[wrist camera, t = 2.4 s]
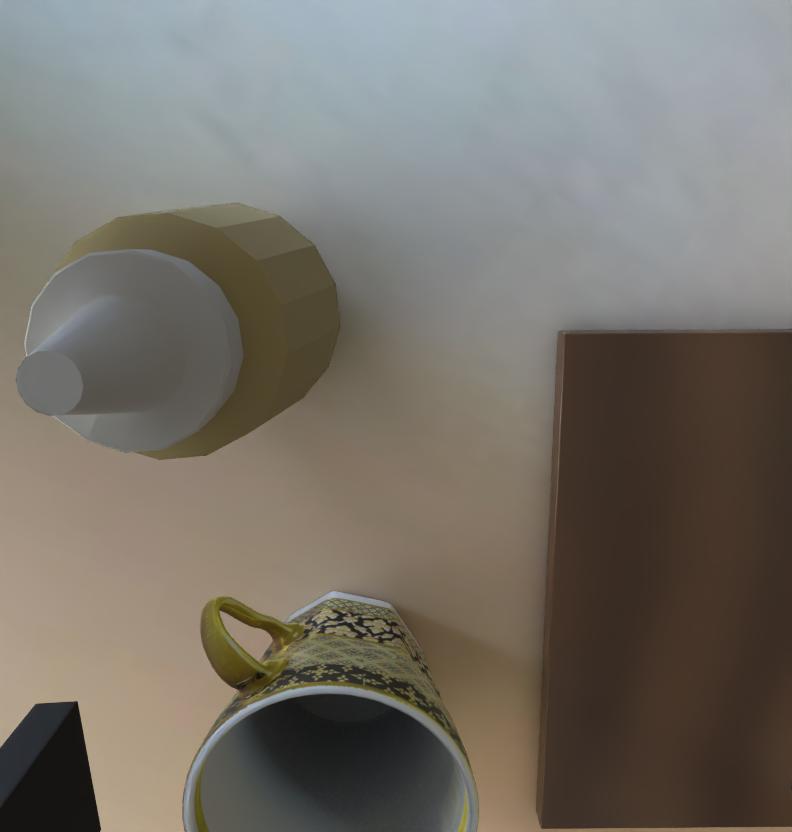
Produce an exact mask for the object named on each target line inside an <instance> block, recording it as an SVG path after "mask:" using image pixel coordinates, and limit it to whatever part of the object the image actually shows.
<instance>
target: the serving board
mask: <svg viewBox="0 0 792 832" xmlns="http://www.w3.org/2000/svg"><path fill="white" fill-rule="evenodd" d="M791 784H792V329H756V330H569V331H558V341H557V363H556V385H555V407H554V429H553V451H552V473H551V495H550V517H549V539H548V561H547V583H546V605H545V627H544V649H543V671H542V693H541V715H540V737H539V759H538V781H537V803H536V812H537V816H538V819H539V823H540V827H541V828H542V829H572V828H695V827H792V790H791Z"/></svg>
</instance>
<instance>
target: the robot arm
mask: <svg viewBox="0 0 792 832" xmlns="http://www.w3.org/2000/svg"><path fill="white" fill-rule="evenodd" d="M791 790H792V784H791ZM100 830H101V827H100V822H99V816H98V811H97V805H96V800H95V794H94V789H93V783H92V778H91V772H90V767H89V762H88V756H87V751H86V745H85V740H84V734H83V729H82V723H81V718H80V713H79V707H78V702H77V701H75V702H59V703H42V704H35V706H34V707H33V708H32V709H31V711H30V712H29V713H28V714H27V716H26V717H25V718H24V719H23V720H22V722H21V723H20V724H19V725H18V727H17V728H16V729H15V730H14V732H13V733H12V734H11V735H10V737H9V738H8V739H7V740H6V741H5V743H4V744H3V745H2V746H1V748H0V832H100Z"/></svg>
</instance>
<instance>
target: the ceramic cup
mask: <svg viewBox="0 0 792 832" xmlns="http://www.w3.org/2000/svg"><path fill="white" fill-rule="evenodd" d="M219 610H220V611H223V612H225V613H227V614H229V615H230V616H232V617H234V618H236V619H237V620H239V621H241V622H243V623H245V624H247V625H249V626H251V627H254V628H260V629H263V630H265V631H266V632H268V633H269V634H270V635H271V637H272V639H273V642H272V644H271V645H270V646H269V648H268V649H267V651H266V652H265V653H264V655H263V656H262V658H261V659H260V660H259V662H258V661H257V660H256V659H254V658H253V657H252V656H251V655H249V654H248V653H247V652H246V651H245V650H244V649H243V648H242V647H241V646H240V645H239V644H238V643H237V642H236V641H235V640H234V639H233V638H232V637H231V636H230V634H229V633H228V632H227V630H226V629H225V627H224V624H223V622H222V619H221V617H220V612H219ZM201 638H202V643H203V647H204V650H205V652H206V655H207V657H208V659H209V661H210V663H211V665H212V667H213V669H214V670H215V672H216V673H217V674H218V675H219V676H220V678H221V679H222V680H223V681H224V682H226V683H227V684H228V685H229V686H231V687H233V688H235V689H237V690H238V691H237V693H236V694H235V696H234V697H233V699H232V700H231V701H230V702H229V704H228V705H227V706H226V708H225V709H224V710H223V712H222V713H221V714H220V716H219V717H218V719H217V720H216V722H215V723H214V725H213V727H212V728H211V730H210V731H209V733H208V735H207V737H206V738H205V740H204V742H203V743H202V745H201V747H200V749H199V750H198V752H197V754H196V756H195V758H194V760H193V762H192V764H191V767H190V769H189V772H188V775H187V779H186V783H185V788H184V793H183V824H184V830H185V832H477V828H478V820H479V803H478V794H477V789H476V784H475V780H474V777H473V773H472V770H471V766H470V763H469V760H468V757H467V754H466V751H465V748H464V746H463V744H462V741H461V739H460V736H459V734H458V732H457V729H456V727H455V724H454V722H453V720H452V718H451V716H450V714H449V712H448V711H447V709H446V708H445V706H444V704H443V702H442V699H441V696H440V694H439V692H438V689H437V687H436V684H435V682H434V679H433V677H432V675H431V672H430V670H429V667H428V664H427V662H426V659H425V656H424V655H423V652H422V650H421V648H420V645H419V644H418V642H417V641H416V640H415V638H414V637H413V635H412V634H411V632H410V631H409V629H408V628H407V626H406V625H405V623H404V622H403V621H402V619H401V618H400V616H399V615H398V613H397V612H396V610H395V609H394V608H393V606H392V605H391V604H390V603H388V602H384V601H380V600H375V599H370V598H366V597H361V596H356V595H351V594H347V593H342V592H336V591H332V592H330V593H328V594H326V595H324V596H323V597H321V598H319V599H318V600H316V601H314V602H312V603H311V604H309V605H307V606H306V607H304V608H302V609H301V610H299V611H297V612H295V613H294V614H292V615H291V616H290V617H289V618H287V620H286V621H285V623H282V622H280V621H279V620H277V619H275V618H273V617H270V616H266V615H262V614H260V613H258V612H256V611H254V610H252V609H251V608H249V607H248V606H246V605H244V604H243V603H241V602H239V601H237V600H235V599H233V598H231V597H225V596H222V597H217V598H215V599H213V600H211V601H209V602H208V603H207V604H206V606H205V607H204V609H203V611H202V616H201Z"/></svg>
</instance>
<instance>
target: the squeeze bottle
mask: <svg viewBox="0 0 792 832" xmlns="http://www.w3.org/2000/svg"><path fill="white" fill-rule="evenodd" d="M339 329H340V320H339V311H338V302H337V293H336V284H335V282H334V280H333V278H332V276H331V275H330V273H329V271H328V269H327V267H326V265H325V263H324V262H323V260H322V258H321V256H320V254H319V252H318V250H317V249H316V247H315V245H314V244H313V243H312V242H310V241H309V240H308V239H307V238H306V237H304V236H303V235H302V234H301V233H300V232H298V231H297V230H296V229H295V228H294V227H292V226H291V225H290V224H289V223H288V222H286V221H285V220H284V219H283V218H282V217H280V216H278V215H274V214H271V213H268V212H265V211H262V210H259V209H256V208H252V207H249V206H246V205H243V204H240V203H231V204H221V205H211V206H200V207H191V208H184V209H176V210H169V211H162V212H154V213H147V214H140V215H132V216H125V217H118V218H116V219H114V220H112V221H111V222H109V223H107V224H105V225H104V226H102V227H100V228H98V229H97V230H95V231H93V232H91V233H90V234H88V235H86V236H84V237H83V238H81V239H79V240H77V241H76V242H75V243H74V244H73V246H72V247H71V249H70V250H69V252H68V253H67V254H66V256H65V257H64V259H63V260H62V261H61V263H60V264H59V266H58V267H57V268H56V270H55V271H54V273H53V274H52V275H51V277H50V278H49V280H48V282H47V284H46V285H45V287H44V288H43V290H42V291H41V292H40V294H39V295H38V297H37V298H36V299H35V301H34V302H33V304H32V306H31V311H30V316H29V321H28V326H27V331H26V337H25V342H24V345H25V350H26V355H27V357H26V358H25V359H24V360H23V362H22V363H21V365H20V366H19V367H18V372H17V377H16V383H17V388H18V392H19V394H20V396H21V397H22V399H23V400H24V402H25V403H26V404H27V405H28V406H29V407H31V408H32V409H33V410H35V411H36V412H38V413H42V414H45V415H48V416H54V417H55V418H56V419H57V420H59V421H60V422H62V423H63V424H64V425H66V426H67V427H68V428H70V429H71V430H72V431H74V432H75V433H76V434H78V435H79V436H80V437H82V438H83V439H84V440H86V441H87V442H90V443H93V444H97V445H100V446H104V447H107V448H111V449H114V450H118V451H121V452H125V453H130V452H135V453H138V454H142V455H145V456H149V457H152V458H156V459H159V460H163V459H174V458H184V457H195V456H206V455H208V454H210V453H212V452H214V451H216V450H218V449H219V448H221V447H223V446H225V445H227V444H229V443H231V442H233V441H235V440H237V439H239V438H240V437H242V436H244V435H246V434H248V433H249V432H251V431H252V430H254V429H256V428H257V427H259V426H260V425H262V424H263V423H265V422H266V421H268V420H270V419H271V418H273V417H274V416H276V415H277V414H279V413H281V412H282V411H284V410H285V409H287V408H288V407H290V406H291V405H293V404H295V403H296V402H298V401H299V400H301V399H302V398H303V397H304V396H305V395H306V394H307V392H308V391H309V390H310V389H311V388H312V386H313V385H314V384H315V383H316V381H317V380H318V379H319V378H320V377H321V375H322V374H323V373H324V372H325V370H326V369H327V368H328V367H329V364H330V360H331V357H332V353H333V350H334V346H335V343H336V340H337V336H338V333H339Z"/></svg>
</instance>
